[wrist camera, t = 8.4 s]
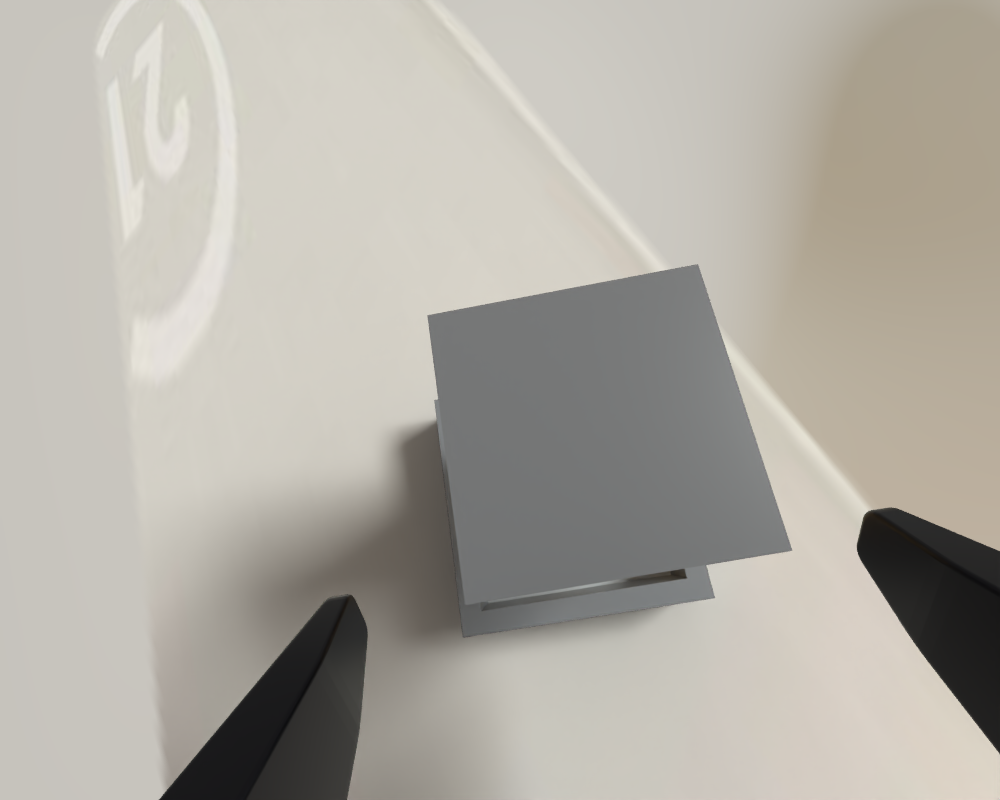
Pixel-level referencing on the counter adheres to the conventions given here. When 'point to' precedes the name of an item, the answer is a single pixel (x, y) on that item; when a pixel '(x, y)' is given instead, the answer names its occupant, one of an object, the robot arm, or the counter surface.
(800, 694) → the counter surface
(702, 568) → the socket collar
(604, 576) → the plug
